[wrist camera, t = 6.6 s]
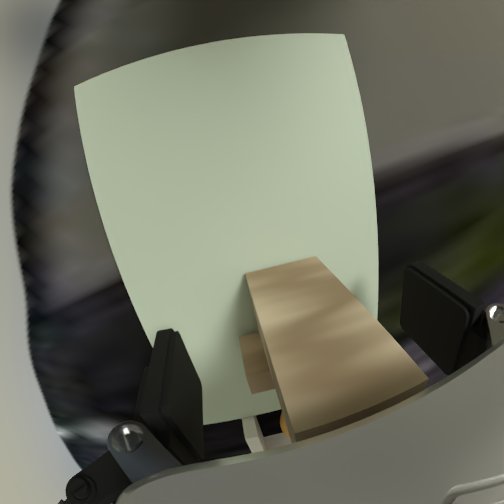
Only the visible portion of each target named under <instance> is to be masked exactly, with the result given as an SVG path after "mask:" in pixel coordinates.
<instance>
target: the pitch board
mask: <svg viewBox="0 0 504 504" xmlns="http://www.w3.org/2000/svg"><path fill="white" fill-rule="evenodd" d="M74 92H75V100H76V107H77V114H78V120H79V126H80V132H81V137H82V142H83V147H84V152H85V157H86V161H87V166H88V170H89V174H90V178H91V182H92V186H93V190H94V194H95V198H96V201H97V205H98V208H99V212H100V215H101V218H102V222H103V225H104V228H105V231H106V234H107V237H108V240H109V243H110V246H111V249H112V252H113V255H114V258H115V260H116V263H117V266H118V268H119V271H120V274H121V276H122V279H123V282H124V284H125V287H126V289H127V292H128V294H129V296H130V299H131V301H132V304H133V306H134V308H135V311H136V313H137V315H138V317H139V320H140V322H141V324H142V326H143V328H144V330H145V333H146V335H147V337H148V339H149V341H150V343H151V345H152V347H153V346H154V342H155V338H156V333H157V331H159V330H164V329H169V328H172V329H173V330H174V331H179V333H180V335H181V338H182V340H183V342H184V345H185V347H186V349H187V352H188V354H189V356H190V358H191V361H192V363H193V365H194V367H195V370H196V372H197V374H198V376H199V378H200V381H201V384H202V399H203V425H206V424H213V423H219V422H225V421H230V420H236V419H241V418H246V417H250V416H255V415H259V414H264V413H268V412H272V411H276V410H280V409H281V406H280V403H279V399H278V396H277V393H276V389H272V390H268V391H264V392H260V393H256V394H251V391H250V388H249V385H248V382H247V378H246V374H245V369H244V364H243V358H242V353H241V347H240V342H239V337H240V336H244V335H248V334H253V333H257V332H259V330H258V326H257V322H256V318H255V314H254V309H253V305H252V301H251V297H250V292H249V288H248V284H247V280H246V275H245V273H249V272H253V271H257V270H261V269H265V268H269V267H273V266H277V265H281V264H285V263H289V262H293V261H297V260H301V259H305V258H309V257H313V256H316V257H317V258H318V259H319V260H320V261H321V262H322V263H323V264H324V265H325V266H326V267H327V268H328V269H329V270H330V271H331V272H332V273H333V274H334V275H335V276H336V277H337V278H338V279H339V280H340V281H341V282H342V283H343V284H344V286H345V287H346V288H347V289H348V290H349V291H350V292H351V293H352V294H353V295H354V296H355V297H356V298H357V299H358V300H359V301H360V302H361V304H362V305H363V306H364V307H365V308H366V309H367V310H368V311H369V312H370V313H371V314H372V315H373V316H374V318H375V319H376V320H377V311H378V235H377V216H376V202H375V191H374V181H373V172H372V164H371V156H370V149H369V142H368V136H367V130H366V124H365V118H364V113H363V108H362V103H361V98H360V93H359V89H358V84H357V80H356V76H355V72H354V68H353V64H352V60H351V56H350V53H349V49H348V46H347V42H346V39H345V36H344V34H318V33H302V34H276V35H263V36H252V37H244V38H236V39H229V40H222V41H216V42H211V43H206V44H200V45H196V46H191V47H187V48H182V49H178V50H174V51H170V52H167V53H163V54H159V55H156V56H152V57H149V58H146V59H143V60H140V61H136V62H133V63H131V64H128V65H125V66H122V67H119V68H117V69H114V70H111V71H109V72H106V73H104V74H101V75H99V76H97V77H94V78H92V79H90V80H87V81H85V82H83V83H81V84H78V85H76V86H74Z"/></svg>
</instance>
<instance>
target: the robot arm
mask: <svg viewBox="0 0 504 504" xmlns="http://www.w3.org/2000/svg"><path fill="white" fill-rule="evenodd" d="M483 307H484V303H483V302H482V301H481V300H479V299H478V298H476V297H475V296H473V295H472V294H470V293H469V292H467V291H466V290H465V289H463V288H462V287H460V286H459V285H457V284H456V283H454V282H452V281H451V280H449V279H448V278H446V277H445V276H443V275H442V274H440V273H439V272H437V271H435V270H434V269H432V268H431V267H429V266H427V265H426V264H424V263H423V262H421V261H417V262H414V263H411V264H408V265H407V267H406V269H405V270H404V279H403V295H402V307H401V317H400V324H401V327H402V329H403V330H404V331H405V332H406V333H407V334H408V335H409V336H410V337H411V338H412V339H413V340H414V341H415V342H416V343H417V344H418V345H419V346H420V347H421V349H422V350H423V351H424V352H425V353H426V354H427V355H428V356H429V357H430V358H431V359H432V360H433V361H434V362H435V363H436V365H437V366H438V367H439V368H440V369H441V370H442V371H443V372H444V373H445V374H447V375H449V376H447V377H446V378H444V379H442V380H441V381H439V382H437V383H436V384H434V385H432V386H430V387H429V388H427V389H425V390H423V391H421V392H419V393H418V394H416V395H414V396H412V397H410V398H408V399H406V400H404V401H402V402H400V403H398V404H396V405H394V406H392V407H390V408H387V409H385V410H383V411H381V412H379V413H376V414H374V415H372V416H369V417H367V418H365V419H362V420H360V421H357V422H355V423H352V424H350V425H347V426H344V427H342V428H339V429H336V430H333V431H330V432H327V433H324V434H321V435H318V436H315V437H312V438H309V439H306V440H302V441H299V442H295V443H292V444H288V445H284V446H280V447H276V448H272V449H268V450H264V451H259V452H255V453H250V454H245V455H240V456H235V457H229V458H223V459H217V460H212V461H206V462H200V459H204V457H205V454H204V432H203V399H202V384H201V381H200V378H199V376H198V374H197V372H196V370H195V367H194V365H193V363H192V361H191V358H190V356H189V354H188V352H187V349H186V347H185V345H184V342H183V340H182V338H181V335H180V333H179V331H174V330H173V329H172V328H169V329H164V330H159V331H157V333H156V338H155V342H154V346H153V350H152V355H151V359H150V364H149V367H145V368H144V370H143V374H142V378H141V382H140V387H139V392H138V396H137V401H136V406H135V411H134V416H133V421H126V422H122V423H120V424H118V425H117V426H116V427H114V428H113V429H112V431H111V432H110V433H109V436H108V439H107V446H108V448H109V451H108V452H106V453H105V454H104V455H102V456H101V457H100V458H98V459H97V460H95V461H94V462H93V463H91V464H90V465H89V466H87V467H86V468H84V469H83V470H82V471H80V472H79V473H77V474H76V475H75V476H74V477H72V478H71V479H70V480H69V482H68V484H67V486H66V496H67V499H66V500H65V501H63V500H60V502H59V503H58V504H504V304H498V303H497V304H492V305H490V306H488V307H487V309H486V312H484V311H483Z"/></svg>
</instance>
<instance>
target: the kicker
mask: <svg viewBox="0 0 504 504" xmlns="http://www.w3.org/2000/svg"><path fill="white" fill-rule="evenodd" d="M245 275H246V280H247V284H248V288H249V292H250V297H251V301H252V305H253V309H254V314H255V318H256V322H257V326H258V330H259V332H257V333H253V334H248V335H244V336H240V337H239V342H240V347H241V353H242V358H243V364H244V369H245V374H246V378H247V382H248V385H249V388H250V391H251V394H256V393H260V392H264V391H268V390H272V389H276V393H277V396H278V399H279V403H280V406H281V409H282V413H283V416H284V419H285V423H286V426H287V429H288V433H289V436H290V439H291V442H292V443H295V442H299V441H302V440H306V439H309V438H312V437H315V436H318V435H321V434H324V433H327V432H330V431H333V430H336V429H339V428H342V427H344V426H347V425H350V424H352V423H355V422H357V421H360V420H362V419H365V418H367V417H369V416H372V415H374V414H376V413H379V412H381V411H383V410H385V409H387V408H390V407H392V406H394V405H396V404H398V403H400V402H402V401H404V400H406V399H408V398H410V397H412V396H414V395H416V394H418V393H419V392H421V391H423V390H425V388H426V385H427V382H428V379H429V378H428V377H427V376H426V375H425V374H424V373H423V371H422V370H421V369H420V368H419V367H418V366H417V364H416V363H415V362H414V361H413V360H412V359H411V358H410V356H409V355H408V354H407V353H406V352H405V351H404V350H403V349H402V347H401V346H400V345H399V344H398V343H397V342H396V341H395V340H394V338H393V337H392V336H391V335H390V334H389V333H388V332H387V331H386V330H385V328H384V327H383V326H382V325H381V324H380V323H379V322H378V321H377V320H376V319H375V318H374V316H373V315H372V314H371V313H370V312H369V311H368V310H367V309H366V308H365V307H364V306H363V305H362V304H361V302H360V301H359V300H358V299H357V298H356V297H355V296H354V295H353V294H352V293H351V292H350V291H349V290H348V289H347V288H346V287H345V286H344V284H343V283H342V282H341V281H340V280H339V279H338V278H337V277H336V276H335V275H334V274H333V273H332V272H331V271H330V270H329V269H328V268H327V267H326V266H325V265H324V264H323V263H322V262H321V261H320V260H319V259H318V258H317V257H316V256H313V257H309V258H305V259H301V260H297V261H293V262H289V263H285V264H281V265H277V266H273V267H269V268H265V269H261V270H257V271H253V272H249V273H245Z"/></svg>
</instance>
